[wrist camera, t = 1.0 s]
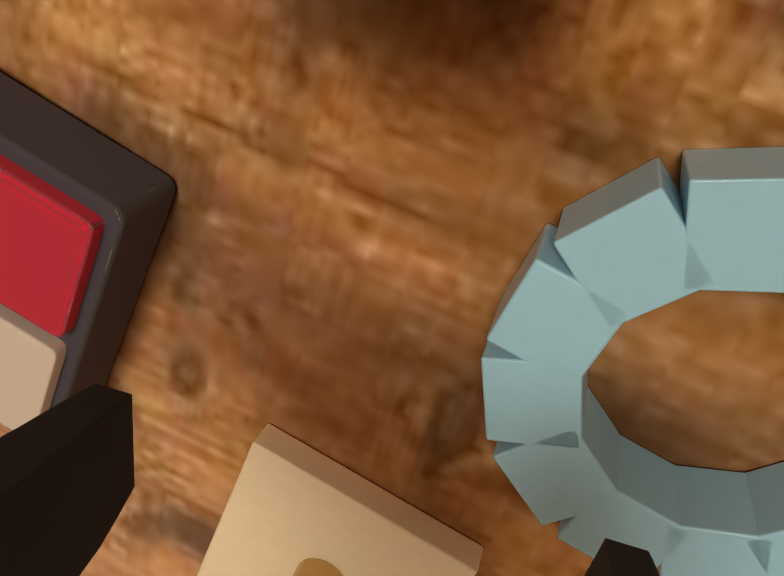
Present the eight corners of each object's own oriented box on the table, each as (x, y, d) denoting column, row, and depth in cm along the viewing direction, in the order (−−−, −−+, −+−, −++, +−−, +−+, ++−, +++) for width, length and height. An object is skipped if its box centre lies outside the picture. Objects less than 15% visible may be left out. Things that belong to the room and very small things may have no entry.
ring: (1141, 307, 15) (1229, 369, 13) (774, 598, 21) (790, 673, 19) (648, 56, 16) (649, 73, 14) (434, 406, 22) (412, 457, 20)
